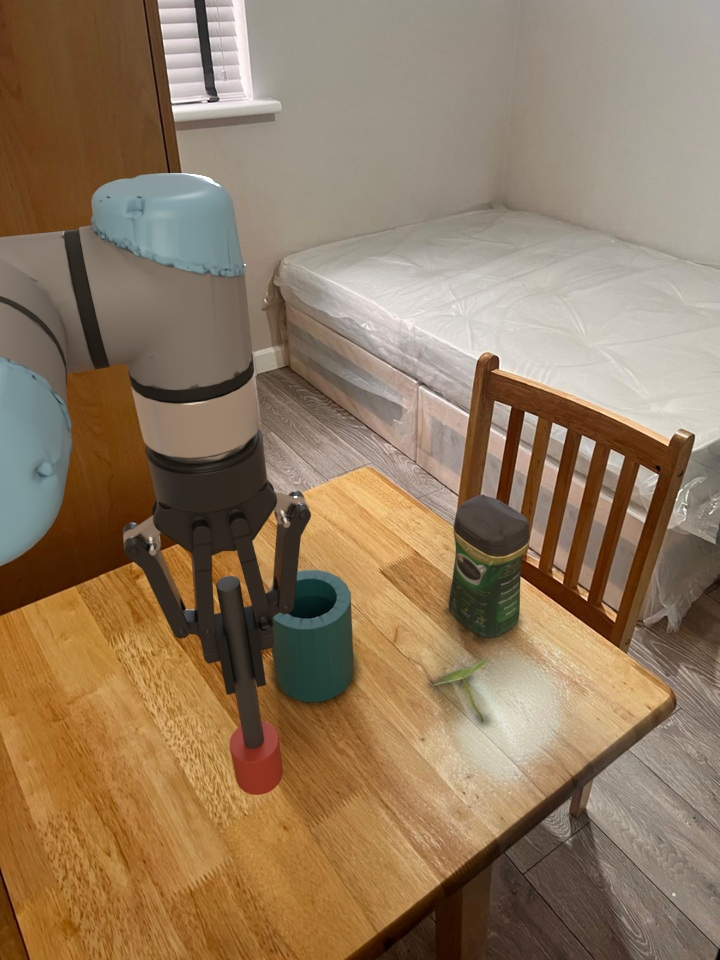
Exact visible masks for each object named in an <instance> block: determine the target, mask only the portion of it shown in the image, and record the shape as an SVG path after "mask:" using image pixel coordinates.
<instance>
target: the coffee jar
mask: <svg viewBox="0 0 720 960" xmlns="http://www.w3.org/2000/svg"><path fill="white" fill-rule="evenodd" d="M454 517H455V518H454V522H453V527H452V532H453V539H454V543H455V544H454V545H455V555H454V563H453V571H452V572H453V573H452V579H451V585H450V590H449V598H448V610H449V612H450V613H451V615H452V616H453V618H455V619H456V620H457V621H458V622H459V623H460V624H461V625H463V626H464V627H465V628H467V630H469V631H470V632H472V633H473V634H475V635H476V636H478V637H481V638H483V639H495V638H499V637H502V636H503V635H505V634H508V632H510V631H512V630H513V629H514V628H515V627H516V626H517V624H518V623H519V620H520V619H519V618H520V610H521V609H520V608H521V579H522V564H523V563H522V562H523V556H524V554H525V553H526V551H527V549H528V547H529V544H530V521H529V519H528V517H526V516H525V515H524V514H522V513H521V512H519V511H517V510H516V509H515V508H513V507H511V506H510V505H508V504H506V503H505V502H503V501H502V500H500V499H498V498H495V497H492V496H488V495H485V494H483V493H481V494H479V495H476V496H474V497H472V498H469V499H468V500H466V501H464V502H462V503H461V504H460V505H459V507H458V509H457V510H456V513H455V516H454Z"/></svg>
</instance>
